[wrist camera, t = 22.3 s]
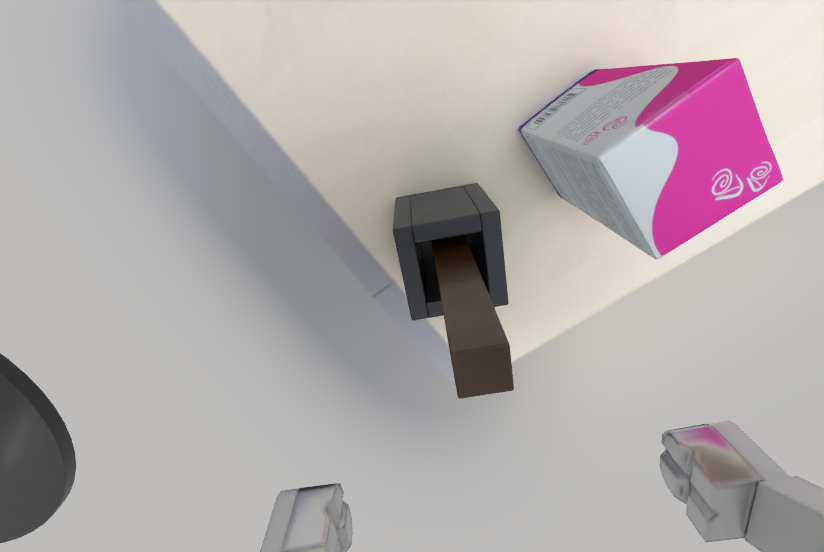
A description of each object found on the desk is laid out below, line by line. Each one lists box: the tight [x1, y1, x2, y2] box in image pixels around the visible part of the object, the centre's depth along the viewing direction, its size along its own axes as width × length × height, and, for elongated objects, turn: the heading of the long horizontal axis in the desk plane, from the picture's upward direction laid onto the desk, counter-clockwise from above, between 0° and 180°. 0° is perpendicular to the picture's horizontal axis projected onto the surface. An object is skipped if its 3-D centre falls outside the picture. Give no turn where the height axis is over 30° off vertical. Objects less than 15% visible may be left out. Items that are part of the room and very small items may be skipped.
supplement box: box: [518, 58, 783, 259], centre depth 21 cm, size 6×6×12 cm
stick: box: [431, 235, 514, 398], centre depth 21 cm, size 2×2×16 cm
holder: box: [393, 183, 508, 320], centre depth 25 cm, size 6×6×7 cm
